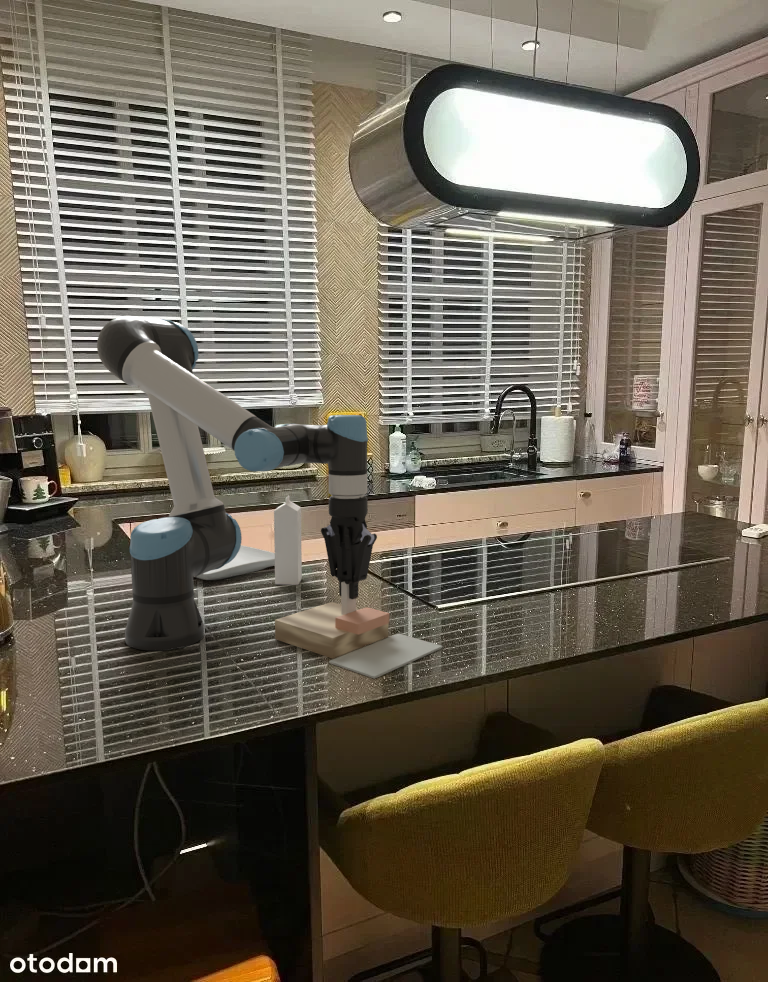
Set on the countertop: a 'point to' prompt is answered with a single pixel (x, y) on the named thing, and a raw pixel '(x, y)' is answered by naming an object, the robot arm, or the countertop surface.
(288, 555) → the milk
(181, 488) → the robot arm
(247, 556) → the square plate
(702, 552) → the countertop surface
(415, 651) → the mat
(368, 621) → the pink block
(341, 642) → the board
